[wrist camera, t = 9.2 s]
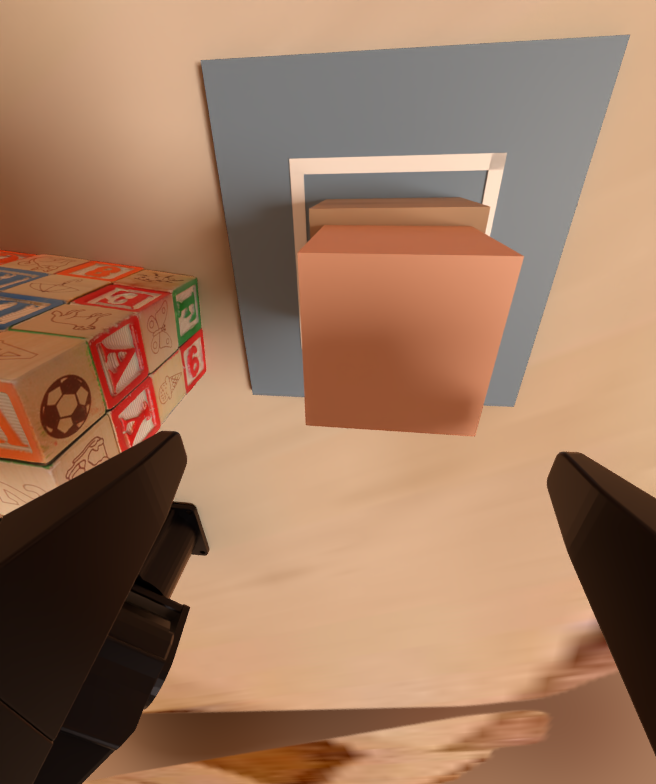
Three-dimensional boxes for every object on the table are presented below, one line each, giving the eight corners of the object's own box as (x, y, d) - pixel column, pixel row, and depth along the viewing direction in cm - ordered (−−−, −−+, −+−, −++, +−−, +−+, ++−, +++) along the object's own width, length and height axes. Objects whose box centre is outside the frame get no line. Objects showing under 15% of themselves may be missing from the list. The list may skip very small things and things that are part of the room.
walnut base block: (439, 324, 19) (458, 369, 15) (328, 322, 20) (315, 364, 15) (459, 197, 16) (490, 206, 12) (326, 199, 16) (308, 208, 12)
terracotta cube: (446, 359, 15) (474, 436, 10) (325, 353, 15) (305, 425, 11) (471, 226, 12) (524, 256, 8) (324, 224, 12) (297, 252, 8)
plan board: (510, 401, 22) (514, 407, 21) (255, 389, 23) (252, 395, 23) (620, 39, 13) (632, 33, 12) (206, 64, 15) (199, 59, 14)
